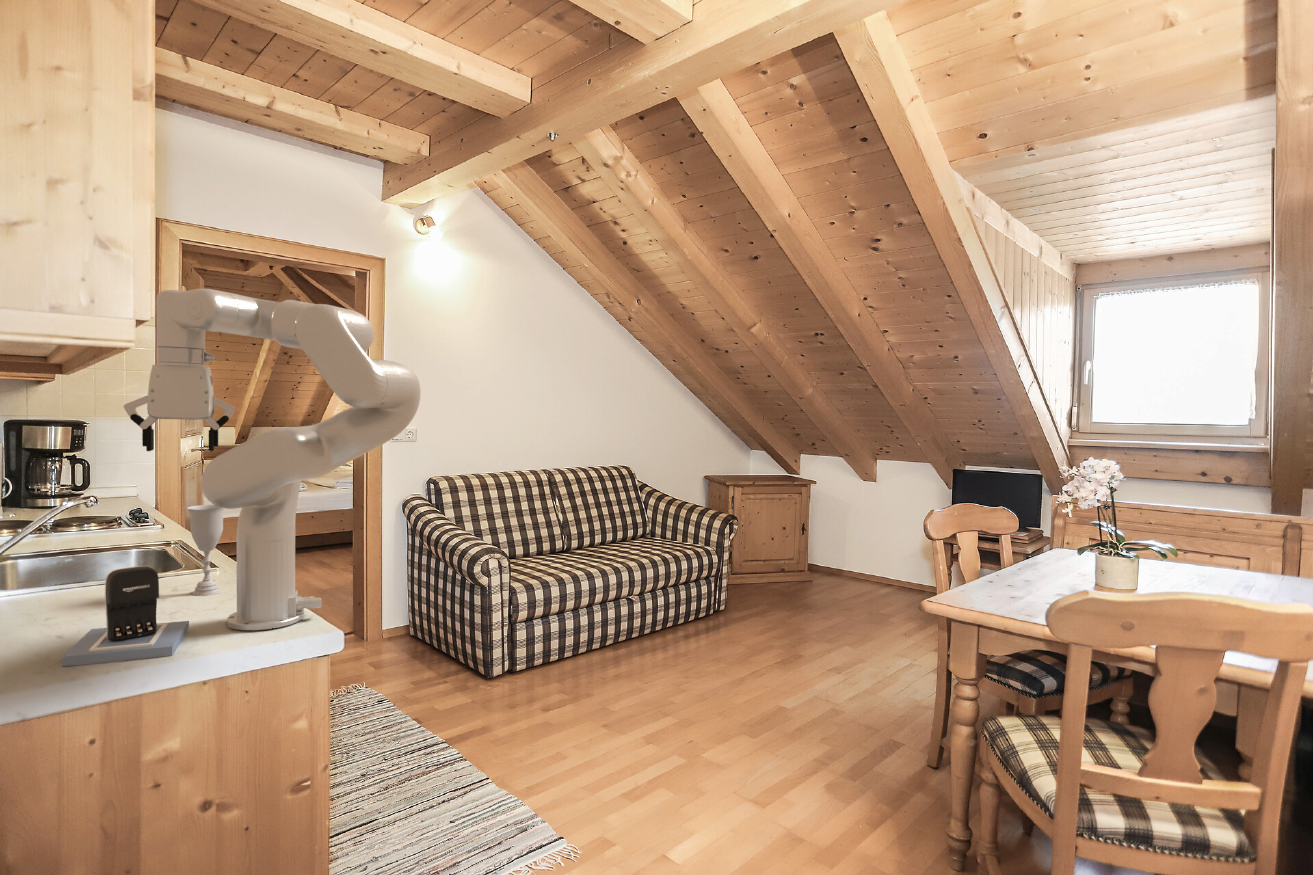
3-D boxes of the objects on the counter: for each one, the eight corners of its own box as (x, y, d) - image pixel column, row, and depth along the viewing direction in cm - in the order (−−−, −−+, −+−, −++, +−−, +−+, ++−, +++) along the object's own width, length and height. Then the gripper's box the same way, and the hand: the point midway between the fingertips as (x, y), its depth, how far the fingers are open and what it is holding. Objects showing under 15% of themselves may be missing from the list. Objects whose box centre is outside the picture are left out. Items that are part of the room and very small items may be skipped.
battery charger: (110, 644, 114) (109, 573, 113) (104, 639, 116) (103, 569, 116) (161, 634, 119) (161, 566, 118) (155, 629, 122) (154, 563, 121)
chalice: (184, 591, 150) (184, 506, 150) (221, 586, 155) (221, 503, 154) (191, 598, 145) (190, 510, 144) (229, 593, 150) (229, 508, 149)
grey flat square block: (189, 629, 127) (188, 619, 127) (172, 655, 114) (172, 644, 114) (91, 637, 121) (91, 627, 121) (62, 666, 108) (62, 654, 108)
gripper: (236, 361, 140) (236, 449, 141) (127, 356, 132) (128, 449, 133) (234, 360, 133) (233, 452, 134) (119, 355, 125) (120, 452, 126)
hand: (181, 450), depth 133 cm, fingers open, 9 cm apart
